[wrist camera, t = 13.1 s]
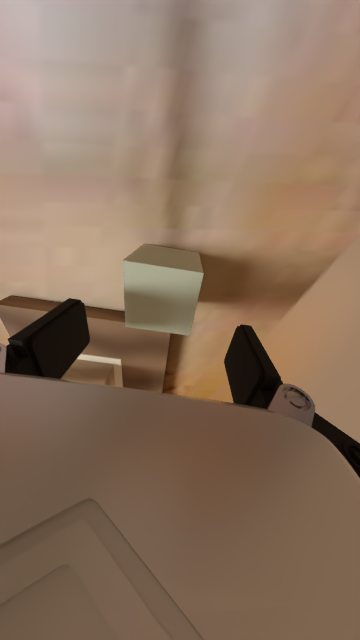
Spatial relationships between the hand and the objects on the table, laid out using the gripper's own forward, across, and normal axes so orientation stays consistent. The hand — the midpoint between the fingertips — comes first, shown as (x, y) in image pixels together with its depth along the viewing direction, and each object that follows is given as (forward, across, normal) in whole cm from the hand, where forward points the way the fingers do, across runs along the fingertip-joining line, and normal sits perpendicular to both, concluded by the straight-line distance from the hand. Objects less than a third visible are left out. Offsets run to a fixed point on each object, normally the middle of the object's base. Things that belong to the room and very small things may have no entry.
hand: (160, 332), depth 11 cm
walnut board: (+8, +8, +13) cm, 17 cm away
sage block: (+8, 0, -1) cm, 8 cm away
